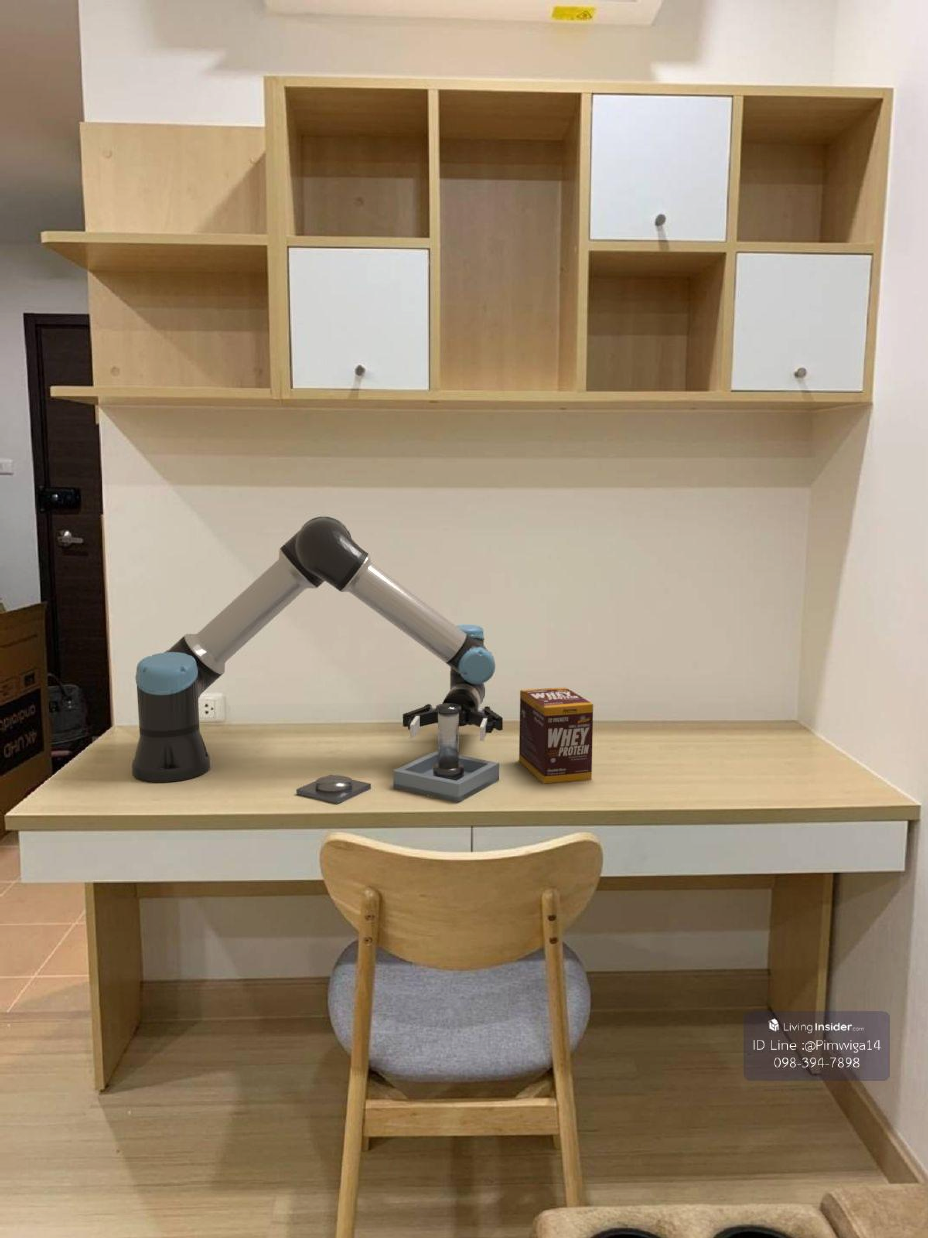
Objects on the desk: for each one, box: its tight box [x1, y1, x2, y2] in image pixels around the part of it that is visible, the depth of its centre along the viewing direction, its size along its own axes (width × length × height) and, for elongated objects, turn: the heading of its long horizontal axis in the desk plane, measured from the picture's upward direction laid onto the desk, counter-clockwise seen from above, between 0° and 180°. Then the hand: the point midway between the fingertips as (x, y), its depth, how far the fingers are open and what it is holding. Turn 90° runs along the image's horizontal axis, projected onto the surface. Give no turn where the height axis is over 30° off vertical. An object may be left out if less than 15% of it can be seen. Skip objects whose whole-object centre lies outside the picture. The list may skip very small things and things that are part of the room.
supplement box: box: [518, 687, 594, 785], centre depth 189 cm, size 10×15×16 cm
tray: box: [392, 750, 500, 803], centre depth 181 cm, size 15×15×4 cm
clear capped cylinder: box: [433, 703, 464, 781], centre depth 180 cm, size 6×6×14 cm
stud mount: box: [296, 774, 372, 805], centre depth 177 cm, size 10×10×2 cm
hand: (446, 732), depth 178 cm, fingers open, 13 cm apart
